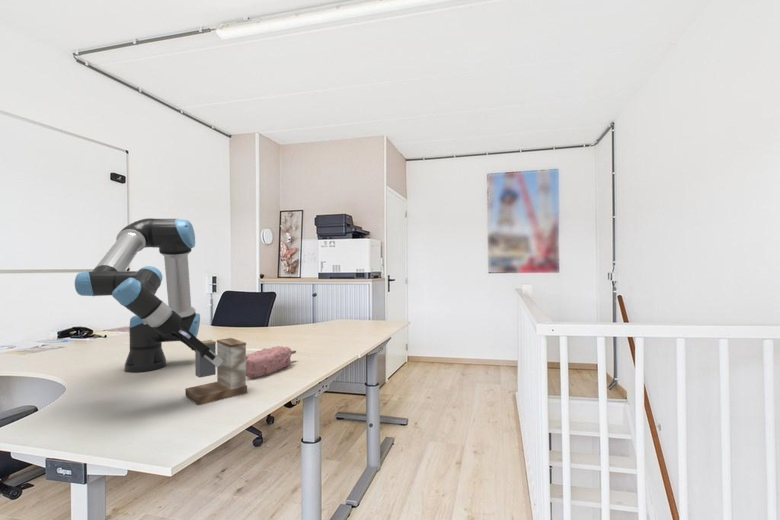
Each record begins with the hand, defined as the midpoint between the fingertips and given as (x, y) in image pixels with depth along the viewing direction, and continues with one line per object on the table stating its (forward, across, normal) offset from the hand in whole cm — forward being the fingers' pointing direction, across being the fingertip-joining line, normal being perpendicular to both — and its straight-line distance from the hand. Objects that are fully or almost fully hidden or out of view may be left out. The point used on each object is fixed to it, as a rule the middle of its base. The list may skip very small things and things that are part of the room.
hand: (217, 362), depth 131 cm
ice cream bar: (+27, -15, +12) cm, 33 cm away
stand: (+8, 0, -8) cm, 11 cm away
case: (0, 0, -5) cm, 5 cm away
